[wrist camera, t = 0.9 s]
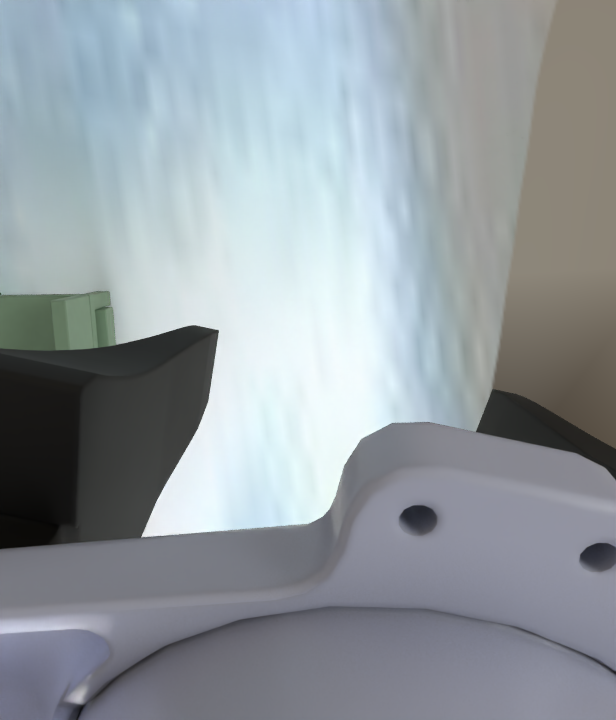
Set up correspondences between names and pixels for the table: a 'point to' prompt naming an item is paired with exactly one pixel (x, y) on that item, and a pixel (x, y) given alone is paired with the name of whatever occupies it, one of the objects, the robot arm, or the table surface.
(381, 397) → the table surface
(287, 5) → the table surface
